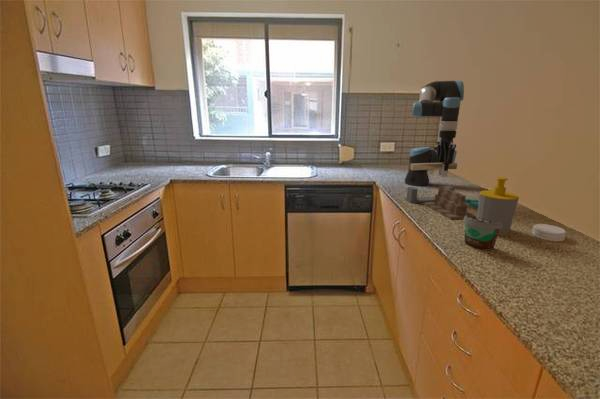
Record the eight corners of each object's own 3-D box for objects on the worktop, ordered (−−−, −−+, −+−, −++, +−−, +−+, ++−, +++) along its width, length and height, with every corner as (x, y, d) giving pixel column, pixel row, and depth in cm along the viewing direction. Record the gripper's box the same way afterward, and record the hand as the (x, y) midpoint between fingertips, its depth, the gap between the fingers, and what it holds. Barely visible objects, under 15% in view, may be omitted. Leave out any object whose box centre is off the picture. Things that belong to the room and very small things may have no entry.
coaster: (532, 229, 125) (534, 221, 124) (564, 236, 119) (566, 227, 118) (530, 237, 117) (532, 228, 116) (564, 244, 111) (566, 235, 110)
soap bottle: (510, 227, 127) (521, 176, 121) (512, 238, 116) (524, 183, 110) (474, 221, 133) (482, 173, 127) (473, 231, 123) (482, 179, 117)
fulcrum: (425, 204, 157) (427, 185, 154) (447, 203, 158) (450, 184, 156) (450, 219, 136) (453, 197, 133) (475, 218, 137) (479, 196, 135)
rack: (405, 199, 166) (406, 186, 164) (447, 198, 169) (448, 185, 167) (410, 202, 160) (411, 189, 158) (453, 201, 163) (455, 188, 161)
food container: (454, 243, 112) (458, 217, 109) (460, 238, 116) (464, 213, 113) (493, 254, 103) (498, 226, 100) (498, 248, 107) (503, 221, 105)
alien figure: (455, 201, 164) (487, 213, 145) (456, 197, 163) (487, 209, 144) (486, 198, 169) (520, 210, 150) (487, 194, 168) (521, 205, 150)
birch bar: (409, 169, 160) (410, 163, 159) (453, 167, 163) (453, 162, 162) (412, 170, 157) (412, 164, 156) (456, 169, 160) (457, 163, 159)
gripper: (432, 128, 162) (427, 172, 169) (450, 131, 147) (444, 179, 154) (446, 128, 163) (440, 172, 170) (465, 131, 147) (458, 179, 154)
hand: (442, 175), depth 162 cm, fingers closed on birch bar, 3 cm apart
